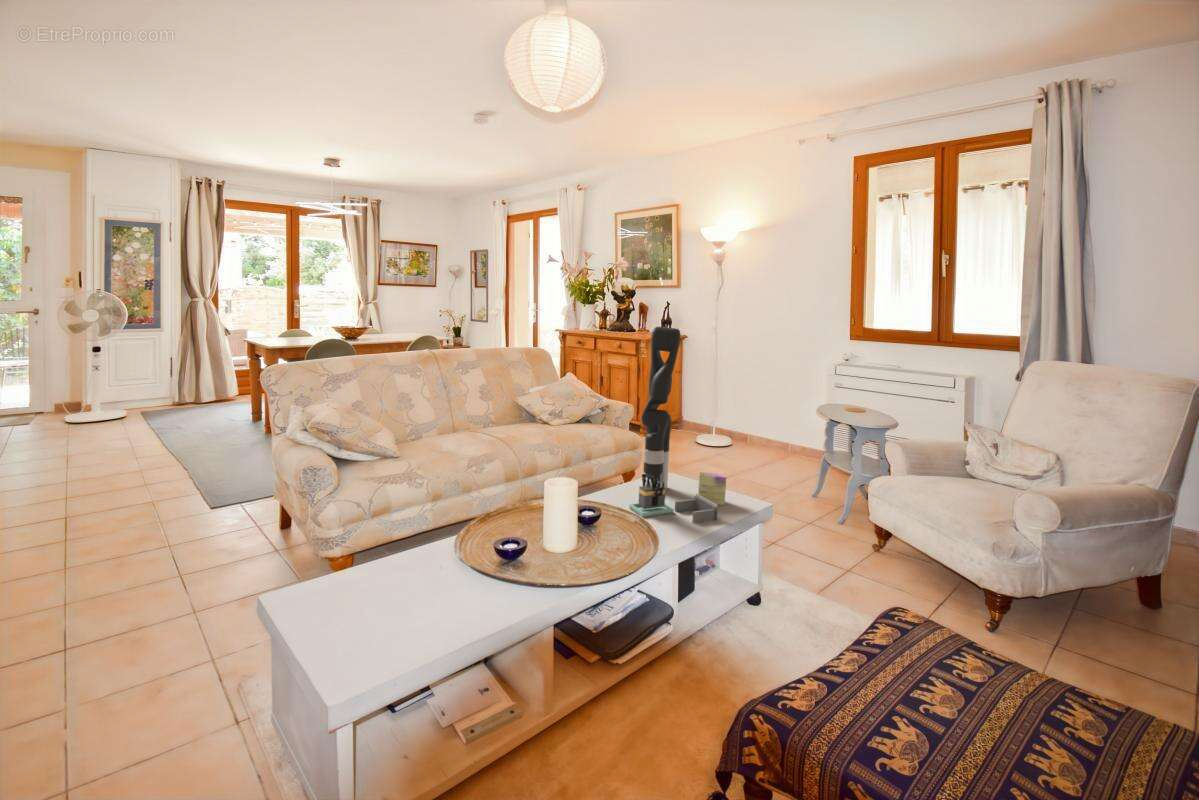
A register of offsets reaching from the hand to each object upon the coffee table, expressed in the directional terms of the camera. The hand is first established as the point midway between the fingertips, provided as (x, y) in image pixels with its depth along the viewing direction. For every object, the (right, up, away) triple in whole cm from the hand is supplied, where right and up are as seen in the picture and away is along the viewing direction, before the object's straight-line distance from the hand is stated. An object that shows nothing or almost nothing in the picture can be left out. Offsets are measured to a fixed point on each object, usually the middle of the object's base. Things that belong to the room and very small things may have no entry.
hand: (651, 503), depth 230 cm
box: (+25, -2, +13) cm, 29 cm away
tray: (0, -3, +1) cm, 3 cm away
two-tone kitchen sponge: (0, -1, 0) cm, 1 cm away
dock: (+16, -4, -3) cm, 17 cm away
